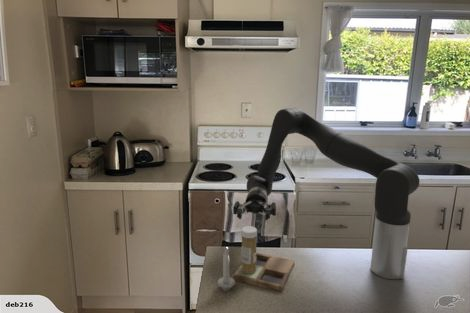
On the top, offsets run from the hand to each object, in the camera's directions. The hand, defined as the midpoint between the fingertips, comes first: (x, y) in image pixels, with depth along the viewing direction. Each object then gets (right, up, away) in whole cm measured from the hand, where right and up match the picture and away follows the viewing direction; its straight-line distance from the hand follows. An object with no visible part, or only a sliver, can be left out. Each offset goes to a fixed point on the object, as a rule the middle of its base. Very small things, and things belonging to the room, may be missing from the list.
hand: (253, 216), depth 108 cm
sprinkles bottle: (-2, -15, -6) cm, 16 cm away
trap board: (+3, -16, -4) cm, 17 cm away
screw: (-8, -18, -12) cm, 23 cm away
